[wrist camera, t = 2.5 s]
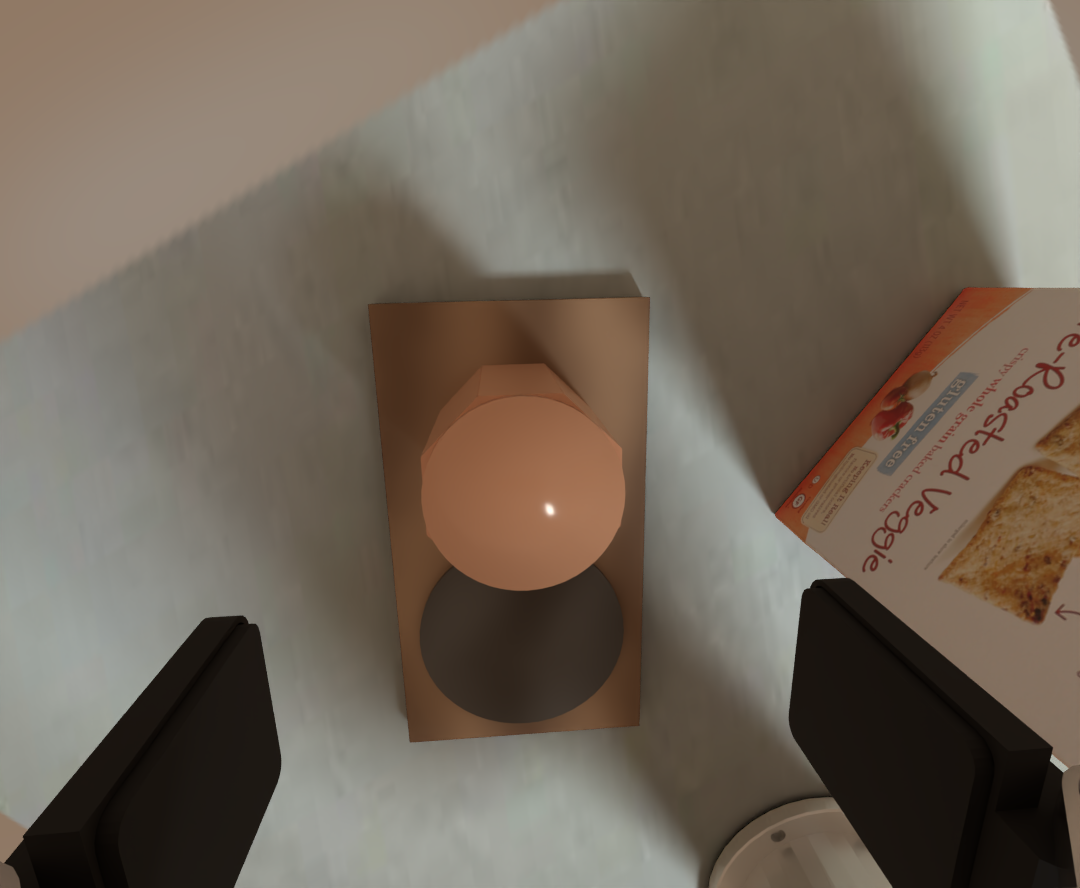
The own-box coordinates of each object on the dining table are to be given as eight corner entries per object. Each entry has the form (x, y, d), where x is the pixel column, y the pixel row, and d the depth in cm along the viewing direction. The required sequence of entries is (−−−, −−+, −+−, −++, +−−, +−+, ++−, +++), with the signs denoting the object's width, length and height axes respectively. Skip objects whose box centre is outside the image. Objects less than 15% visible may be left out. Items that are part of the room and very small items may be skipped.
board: (643, 296, 27) (652, 297, 25) (634, 710, 33) (641, 731, 31) (373, 303, 26) (366, 304, 25) (412, 725, 32) (408, 748, 30)
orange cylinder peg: (588, 362, 26) (627, 394, 19) (588, 502, 28) (624, 584, 20) (437, 366, 26) (413, 402, 18) (446, 509, 28) (428, 596, 20)
